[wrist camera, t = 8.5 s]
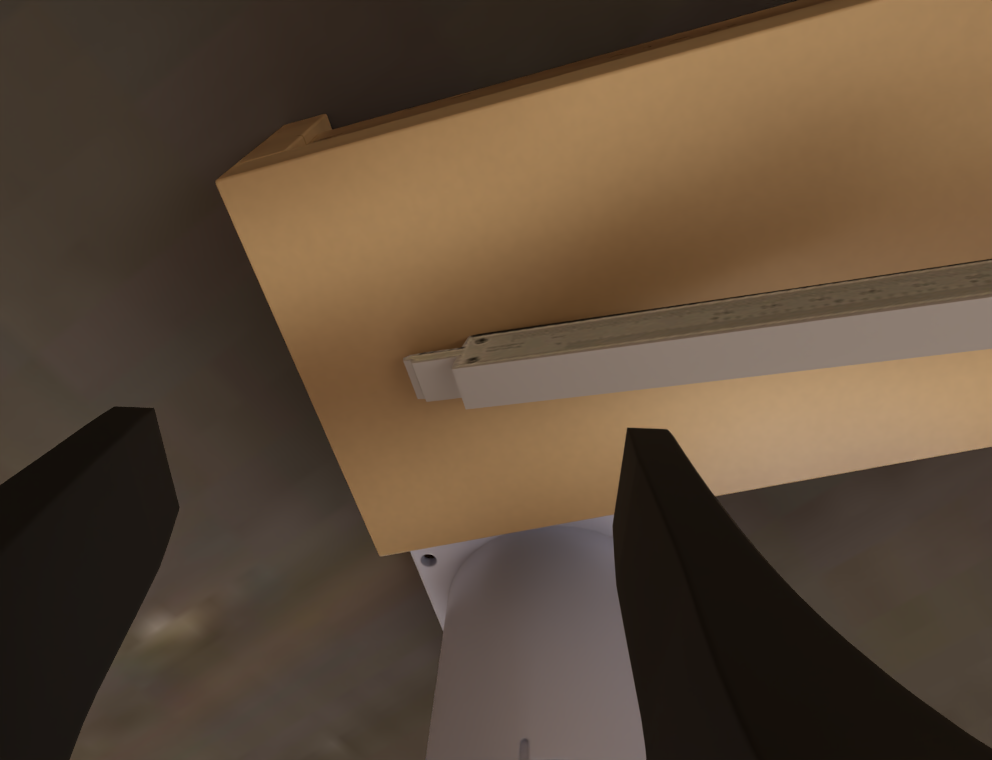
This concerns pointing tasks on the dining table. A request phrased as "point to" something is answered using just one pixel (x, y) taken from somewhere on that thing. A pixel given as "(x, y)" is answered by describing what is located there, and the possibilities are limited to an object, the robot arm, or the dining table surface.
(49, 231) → the dining table surface
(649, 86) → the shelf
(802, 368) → the caliper
